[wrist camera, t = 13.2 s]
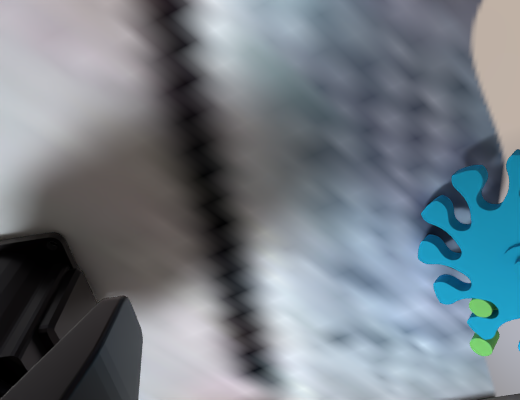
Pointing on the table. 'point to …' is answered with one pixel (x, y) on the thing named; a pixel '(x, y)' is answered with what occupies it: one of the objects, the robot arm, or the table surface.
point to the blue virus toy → (479, 252)
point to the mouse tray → (505, 397)
